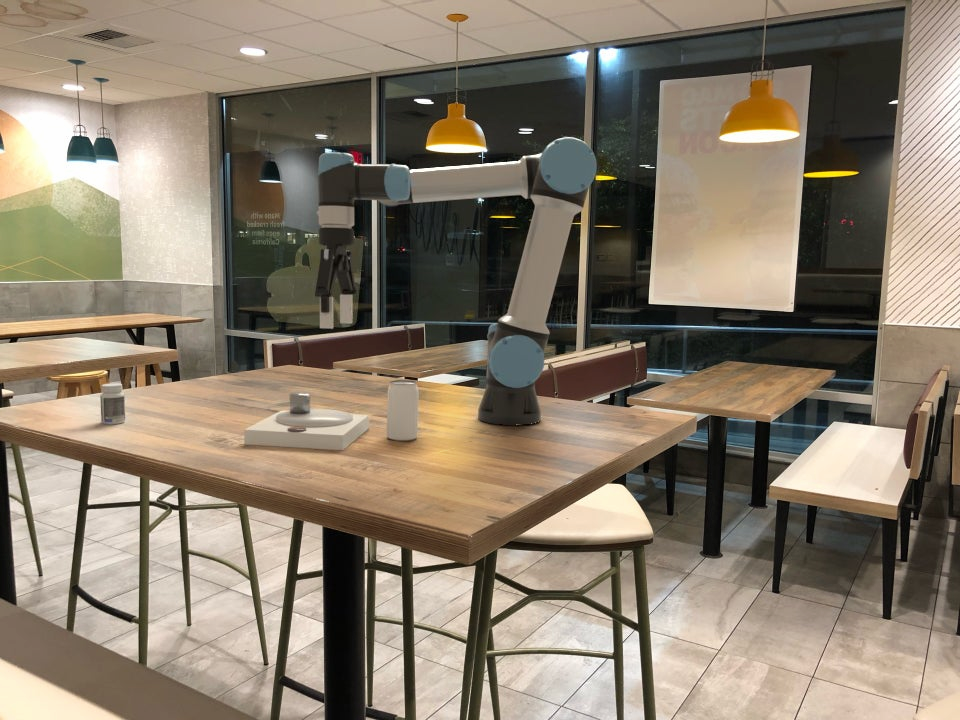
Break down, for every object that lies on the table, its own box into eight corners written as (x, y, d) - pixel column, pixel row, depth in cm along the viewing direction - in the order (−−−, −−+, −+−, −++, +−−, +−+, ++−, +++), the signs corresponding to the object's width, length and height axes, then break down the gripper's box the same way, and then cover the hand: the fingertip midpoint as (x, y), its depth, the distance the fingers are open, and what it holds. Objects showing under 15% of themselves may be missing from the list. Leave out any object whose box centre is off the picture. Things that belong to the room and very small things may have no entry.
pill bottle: (130, 421, 164) (129, 384, 163) (111, 425, 160) (110, 387, 159) (115, 419, 166) (113, 382, 165) (96, 423, 162) (94, 384, 161)
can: (412, 442, 154) (413, 385, 152) (382, 440, 155) (383, 383, 153) (421, 435, 160) (422, 380, 158) (392, 433, 161) (393, 378, 160)
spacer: (313, 410, 165) (313, 392, 164) (306, 414, 160) (306, 396, 160) (293, 409, 165) (293, 391, 165) (286, 413, 161) (286, 395, 160)
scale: (369, 427, 166) (370, 411, 166) (342, 450, 146) (343, 432, 145) (283, 422, 168) (283, 406, 168) (244, 444, 148) (244, 426, 147)
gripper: (337, 229, 173) (338, 321, 176) (298, 223, 149) (299, 329, 151) (369, 230, 172) (369, 321, 175) (334, 224, 148) (335, 331, 150)
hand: (336, 325), depth 163 cm, fingers open, 13 cm apart
